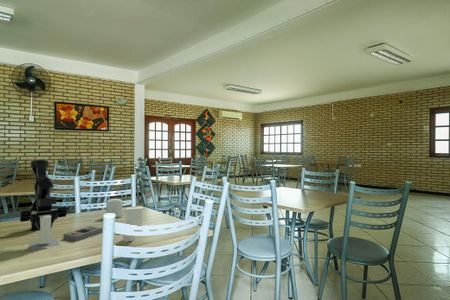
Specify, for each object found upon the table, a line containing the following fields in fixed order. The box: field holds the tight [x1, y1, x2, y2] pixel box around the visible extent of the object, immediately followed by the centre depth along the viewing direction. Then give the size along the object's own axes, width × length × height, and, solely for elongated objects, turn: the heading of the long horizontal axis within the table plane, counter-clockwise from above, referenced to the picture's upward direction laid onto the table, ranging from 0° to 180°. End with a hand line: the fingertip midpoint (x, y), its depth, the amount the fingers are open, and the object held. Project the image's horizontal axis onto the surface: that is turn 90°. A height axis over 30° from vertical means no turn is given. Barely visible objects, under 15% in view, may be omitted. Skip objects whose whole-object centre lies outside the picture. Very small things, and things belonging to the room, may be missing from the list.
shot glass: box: [122, 234, 136, 242], centre depth 138 cm, size 7×7×7 cm
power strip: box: [62, 225, 104, 242], centre depth 141 cm, size 16×9×4 cm, turn 158°
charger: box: [38, 215, 52, 244], centre depth 128 cm, size 4×5×12 cm
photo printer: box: [105, 198, 123, 218], centre depth 184 cm, size 10×4×12 cm, turn 123°
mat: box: [29, 238, 61, 252], centre depth 128 cm, size 11×11×1 cm
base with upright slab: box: [125, 206, 144, 227], centre depth 158 cm, size 9×9×12 cm
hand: (45, 229), depth 127 cm, fingers closed on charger, 4 cm apart
